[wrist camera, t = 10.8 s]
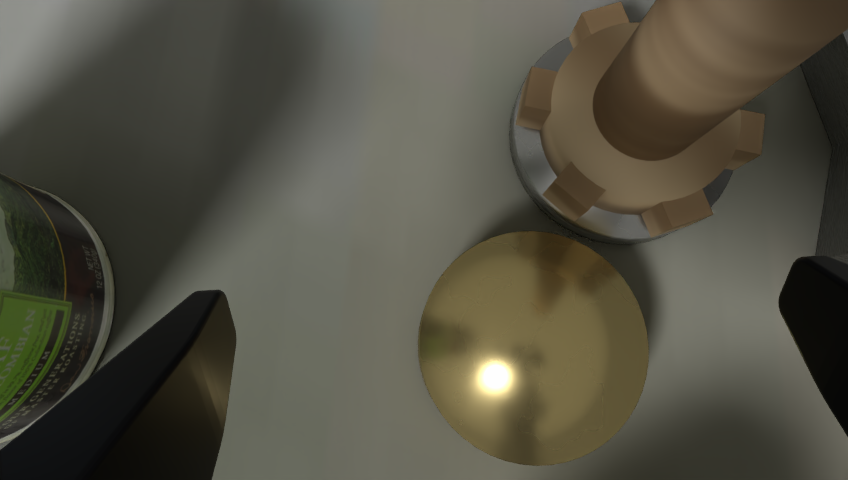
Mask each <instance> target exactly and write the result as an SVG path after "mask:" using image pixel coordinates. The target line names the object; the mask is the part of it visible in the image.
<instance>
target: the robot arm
mask: <svg viewBox="0 0 848 480" xmlns="http://www.w3.org/2000/svg"><path fill="white" fill-rule="evenodd" d="M779 309H780V312H781V315H782V317H783V319H784V321H785V323H786V325H787V327H788V329H789V331H790V333H791V335H792V337H793V339H794V341H795V343H796V345H797V347H798V349H799V351H800V353H801V355H802V357H803V359H804V361H805V363H806V365H807V367H808V369H809V371H810V373H811V375H812V377H813V379H814V381H815V383H816V385H817V387H818V389H819V391H820V393H821V394H822V396H823V398H824V399H825V401H826V403H827V404H828V406H829V408H830V409H831V411H832V413H833V414H834V416H835V417H836V419H837V420H838V422H839V424H840V425H841V427H842V428H843V430H844V432H845V433H846V435H847V436H848V264H846V263H843V262H841V261H838V260H836V259H833V258H831V257H828V256H808V257H801V258H798V259H797V260H796V261H795V262H794V263H793V265H792V267H791V269H790V272H789V274H788V276H787V279H786V281H785V284H784V286H783V288H782V291H781V293H780V296H779ZM235 349H236V331H235V326H234V323H233V319H232V315H231V312H230V308H229V304H228V301H227V298H226V295H225V294H224V292H223V291H221V290H205V291H196V292H194V293H192V294H191V295H190V296H189V297H187V298H186V299H185V300H184V301H182V302H181V303H180V304H179V305H178V306H176V307H175V308H174V309H173V310H171V311H170V312H169V313H168V314H167V315H165V316H164V317H163V318H162V319H160V320H159V321H158V322H157V323H155V324H154V325H153V326H152V327H151V328H149V329H148V330H147V331H146V332H144V333H143V334H142V335H141V336H140V337H138V338H137V339H136V340H135V341H133V342H132V343H131V344H130V345H129V346H127V347H126V348H125V349H124V350H122V351H121V352H120V353H119V354H118V355H116V356H115V357H114V358H113V359H111V360H110V361H109V362H108V363H107V364H105V365H104V366H103V367H102V368H100V369H99V370H98V371H97V372H95V373H94V374H93V375H92V376H91V377H89V378H88V379H87V380H86V381H84V382H83V383H82V384H81V385H80V386H78V387H77V388H76V389H75V390H73V391H72V392H71V393H70V394H69V395H67V396H66V397H65V398H64V399H62V400H61V401H60V402H59V403H58V404H56V405H55V406H54V407H53V408H51V409H50V410H49V411H48V412H47V413H45V414H44V415H43V416H42V417H40V418H39V419H38V420H37V421H36V422H34V423H33V424H32V425H31V426H29V427H28V428H27V429H26V430H24V431H23V432H22V433H21V434H20V435H18V436H17V437H16V438H15V439H13V440H12V441H11V442H10V443H9V444H7V445H6V446H5V447H4V448H2V449H1V450H0V480H212V476H213V472H214V468H215V465H216V461H217V457H218V453H219V450H220V446H221V441H222V437H223V433H224V426H225V420H226V413H227V406H228V399H229V392H230V385H231V377H232V370H233V363H234V356H235Z"/></svg>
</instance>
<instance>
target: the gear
mask: <svg viewBox="0 0 848 480" xmlns="http://www.w3.org/2000/svg"><path fill="white" fill-rule="evenodd" d="M847 29H848V0H656V1H655V3H654V4H653V6H652V7H651V8H650V10H649V11H648V13H647V14H646V16H645V17H644V18H643V20H642V21H641V23H639V22H633V23H630V22H629V19H628V17H627V15H626V12H625V10H624V8H623V6H622V3H621V2H618V3H614V4H611V5H607V6H604V7H600V8H597V9H593V10H590V11H586V12H583V13H582V14H581V16H580V18H579V20H578V22H577V24H576V26H575V27H574V29H573V31H572V33H571V35H570V37H569V40H570V42H571V45H572V47H573V50H572V51H571V52H570V54H569V55H568V56H567V57H566V59H565V60H564V62H563V64H562V65H561V67H560V69H559V71H558V72H557V71H552V70H547V69H542V68H537V67H531V70H530V72H529V74H528V76H527V79H526V81H525V83H524V86H523V88H522V93H521V98H520V103H519V109H518V114H517V119H516V125H518V126H522V127H527V128H532V129H537V130H540V139H541V144H542V148H543V151H544V154H545V157H546V159H547V161H548V163H549V165H550V167H551V168H552V170H553V172H554V173H555V175H556V176H557V178H556V179H555V180H554V181H553V183H552V184H551V185H550V186H549V187H548V188H547V190H546V191H545V192H544V193H543V194H542V195H543V196H544V197H545V198H546V199H548V200H549V201H550V202H551V203H552V204H553V205H555V206H556V207H557V208H558V209H559V210H561V211H562V212H563V213H564V214H565V215H567V216H568V217H569V218H570V219H571V220H572V221H574V222H575V221H576V220H577V219H578V218H580V217H581V216H582V215H583V214H585V213H586V212H587V211H588V210H589V209H590V208H591V207H592V206H595V207H597V208H600V209H602V210H605V211H609V212H613V213H618V214H625V215H640V214H641V215H642V217H643V219H644V222H645V224H646V227H647V229H648V232H649V234H650V236H651V238H652V237H655V236H658V235H661V234H664V233H668V232H671V231H674V230H677V229H680V228H683V227H686V226H689V225H691V224H693V223H695V222H697V221H700V220H702V219H704V218H706V217H708V216H711V215H713V212H712V210H711V207H710V205H709V203H708V201H707V198H706V196H705V194H704V191H703V189H702V188H704V187H706V186H707V185H708V184H710V183H711V182H712V181H713V180H715V179H716V178H717V177H718V176H719V175H720V174H721V172H722V171H723V170H724V169H725V168H726V169H731V170H735V169H737V168H739V167H740V166H742V165H744V164H746V163H747V162H749V161H751V160H753V159H755V158H756V157H758V156H760V155H761V154H762V143H763V133H764V122H765V114H761V113H756V112H751V111H746V110H741V109H740V108H741V107H743V106H744V105H746V104H747V103H748V102H750V101H751V100H752V99H754V98H755V97H756V96H758V95H759V94H760V93H762V92H763V91H764V90H766V89H767V88H769V87H770V86H771V85H773V84H774V83H775V82H777V81H778V80H779V79H781V78H782V77H783V76H785V75H786V74H788V73H789V72H790V71H792V70H793V69H794V68H796V67H797V66H798V65H800V64H801V63H802V62H804V61H805V60H806V59H808V58H809V57H811V56H812V55H813V54H815V53H816V52H817V51H819V50H820V49H821V48H823V47H824V46H825V45H827V44H828V43H830V42H831V41H832V40H834V39H835V38H836V37H838V36H839V35H840V34H842V33H843V32H844V31H846V30H847Z"/></svg>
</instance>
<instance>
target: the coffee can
mask: <svg viewBox="0 0 848 480" xmlns="http://www.w3.org/2000/svg"><path fill="white" fill-rule="evenodd" d="M114 303H115V286H114V278H113V272H112V267H111V263H110V261H109V258H108V255H107V252H106V250H105V247H104V245H103V243H102V242H101V240H100V238H99V236H98V235H97V233H96V232H95V230H94V229H93V228H92V226H91V225H90V223H89V222H88V221H87V220H86V219H85V218H84V217H83V216H82V215H81V214H80V213H79V212H78V211H76V210H75V209H74V208H73V207H72V206H70V205H69V204H68V203H66V202H65V201H63V200H62V199H60V198H59V197H57V196H55V195H53V194H51V193H49V192H47V191H44V190H41V189H38V188H35V187H32V186H28V185H26V184H24V183H22V182H19V181H17V180H15V179H13V178H11V177H9V176H6V175H4V174H2V173H0V443H3V442H6V441H8V440H11V439H14V438H16V437H17V436H18V435H20V434H21V433H22V432H23V431H24V430H26V429H27V428H28V427H29V426H31V425H32V424H33V423H34V422H36V421H37V420H38V419H39V418H40V417H42V416H43V415H44V414H45V413H47V412H48V411H49V410H50V409H51V408H53V407H54V406H55V405H56V404H58V403H59V402H60V401H61V400H62V399H64V398H65V397H66V396H67V395H69V394H70V393H71V392H72V391H73V390H75V389H76V388H77V387H78V386H80V385H81V384H82V383H83V382H84V381H86V380H87V379H88V378H89V377H90V375H91V373H92V372H93V370H94V369H95V367H96V365H97V362H98V360H99V358H100V356H101V354H102V352H103V350H104V347H105V345H106V342H107V339H108V336H109V333H110V329H111V325H112V320H113V313H114Z"/></svg>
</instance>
